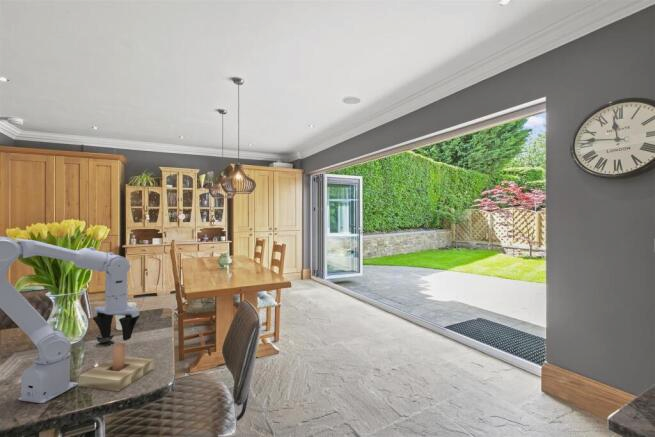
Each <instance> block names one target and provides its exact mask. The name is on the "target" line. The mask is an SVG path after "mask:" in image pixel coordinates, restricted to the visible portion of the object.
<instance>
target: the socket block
mask: <svg viewBox="0 0 655 437" xmlns="http://www.w3.org/2000/svg"><path fill="white" fill-rule="evenodd" d="M152 370H154V359H151V358H143V357H133V356H125V368H124V369H122V370H120V371H113V357H112V358H111V359H108V360H107V361H104V362H103V363H101V364H99V365H97V366H95V367H93V368H91V369H89V370H87V371H85V372H83V373H81V374H79V375H78V386H79V387H82V388H91V389H99V390H107V391H116V392H120V391H121V390H123V389H125V388H126V387H128V386H129V385H131V384H132V383H134V382H136V381H137V380H138V379H140V378H142V377H143V376H146V374H148V373H149V372H151V371H152Z"/></svg>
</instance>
